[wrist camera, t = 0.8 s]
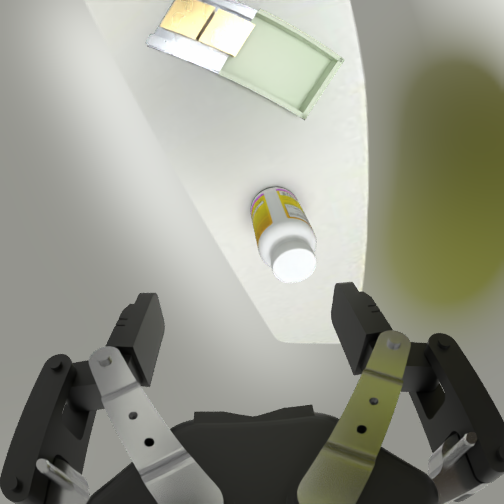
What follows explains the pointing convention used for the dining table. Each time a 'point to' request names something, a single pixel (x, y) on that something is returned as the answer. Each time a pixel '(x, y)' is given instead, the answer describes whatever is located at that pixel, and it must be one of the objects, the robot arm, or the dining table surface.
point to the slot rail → (194, 49)
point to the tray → (282, 64)
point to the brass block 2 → (226, 33)
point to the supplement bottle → (283, 235)
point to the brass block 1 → (188, 18)
